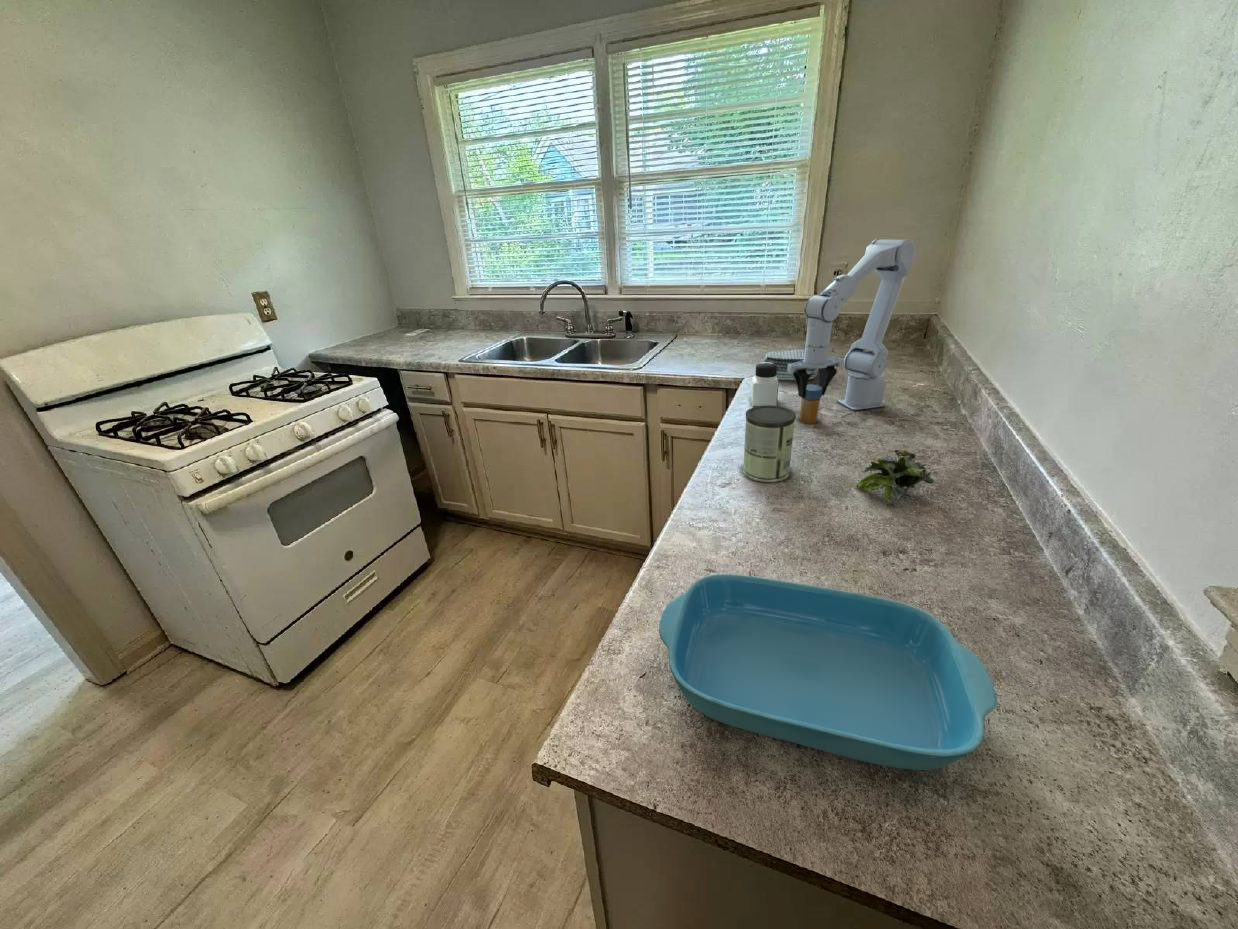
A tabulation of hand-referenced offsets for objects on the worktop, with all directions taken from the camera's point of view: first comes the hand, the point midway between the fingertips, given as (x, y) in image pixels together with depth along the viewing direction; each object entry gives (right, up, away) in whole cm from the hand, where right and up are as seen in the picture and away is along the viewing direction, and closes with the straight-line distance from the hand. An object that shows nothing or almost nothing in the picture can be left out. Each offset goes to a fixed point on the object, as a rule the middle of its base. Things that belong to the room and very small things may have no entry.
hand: (811, 395), depth 133 cm
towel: (+8, +13, +41) cm, 43 cm away
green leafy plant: (+3, -25, -33) cm, 42 cm away
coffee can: (-19, -20, -21) cm, 35 cm away
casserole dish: (-28, -46, -71) cm, 89 cm away
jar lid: (0, +2, -1) cm, 2 cm away
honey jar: (+1, -6, +3) cm, 7 cm away
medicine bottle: (-8, 0, +18) cm, 19 cm away
